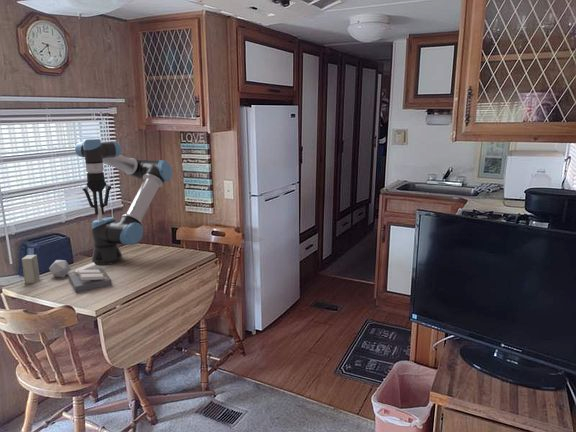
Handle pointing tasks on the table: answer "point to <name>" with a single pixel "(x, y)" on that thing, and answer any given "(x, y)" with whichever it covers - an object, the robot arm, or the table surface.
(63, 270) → the die
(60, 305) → the table surface
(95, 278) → the rocker front
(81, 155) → the robot arm
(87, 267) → the rocker back
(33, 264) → the skincare box
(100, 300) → the table surface
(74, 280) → the switch console
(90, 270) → the rocker middle
